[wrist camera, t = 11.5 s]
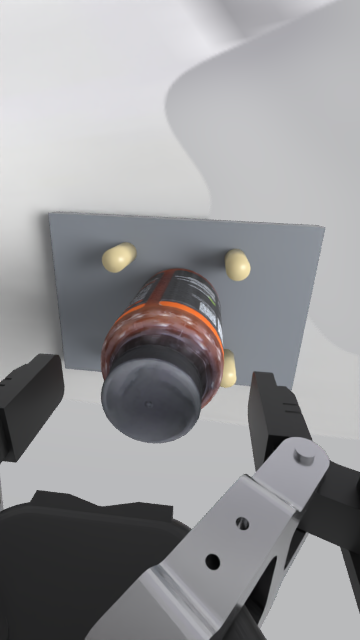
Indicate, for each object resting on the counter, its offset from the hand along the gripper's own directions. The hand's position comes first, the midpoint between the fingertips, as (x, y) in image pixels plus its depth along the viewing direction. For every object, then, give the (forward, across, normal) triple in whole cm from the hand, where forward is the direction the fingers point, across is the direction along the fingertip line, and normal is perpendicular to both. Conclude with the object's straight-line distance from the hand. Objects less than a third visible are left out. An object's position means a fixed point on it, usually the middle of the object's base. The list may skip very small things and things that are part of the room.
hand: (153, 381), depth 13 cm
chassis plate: (+12, 0, 0) cm, 12 cm away
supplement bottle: (+10, 0, 0) cm, 10 cm away
